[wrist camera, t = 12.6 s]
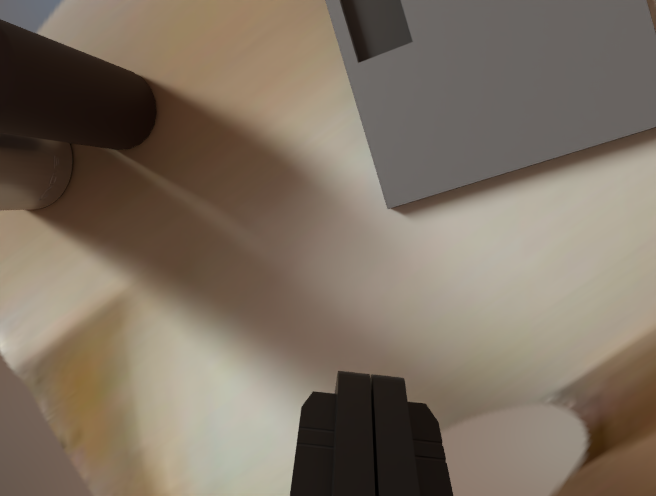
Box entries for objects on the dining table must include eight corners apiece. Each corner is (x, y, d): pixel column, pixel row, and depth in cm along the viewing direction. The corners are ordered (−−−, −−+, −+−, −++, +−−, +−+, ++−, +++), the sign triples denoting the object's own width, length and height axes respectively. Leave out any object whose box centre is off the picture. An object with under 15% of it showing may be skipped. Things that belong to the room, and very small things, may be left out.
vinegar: (113, 165, 45) (-141, 140, 26) (77, 98, 45) (-203, 24, 26) (172, 123, 43) (-52, 63, 24) (134, 55, 43) (-119, -60, 24)
